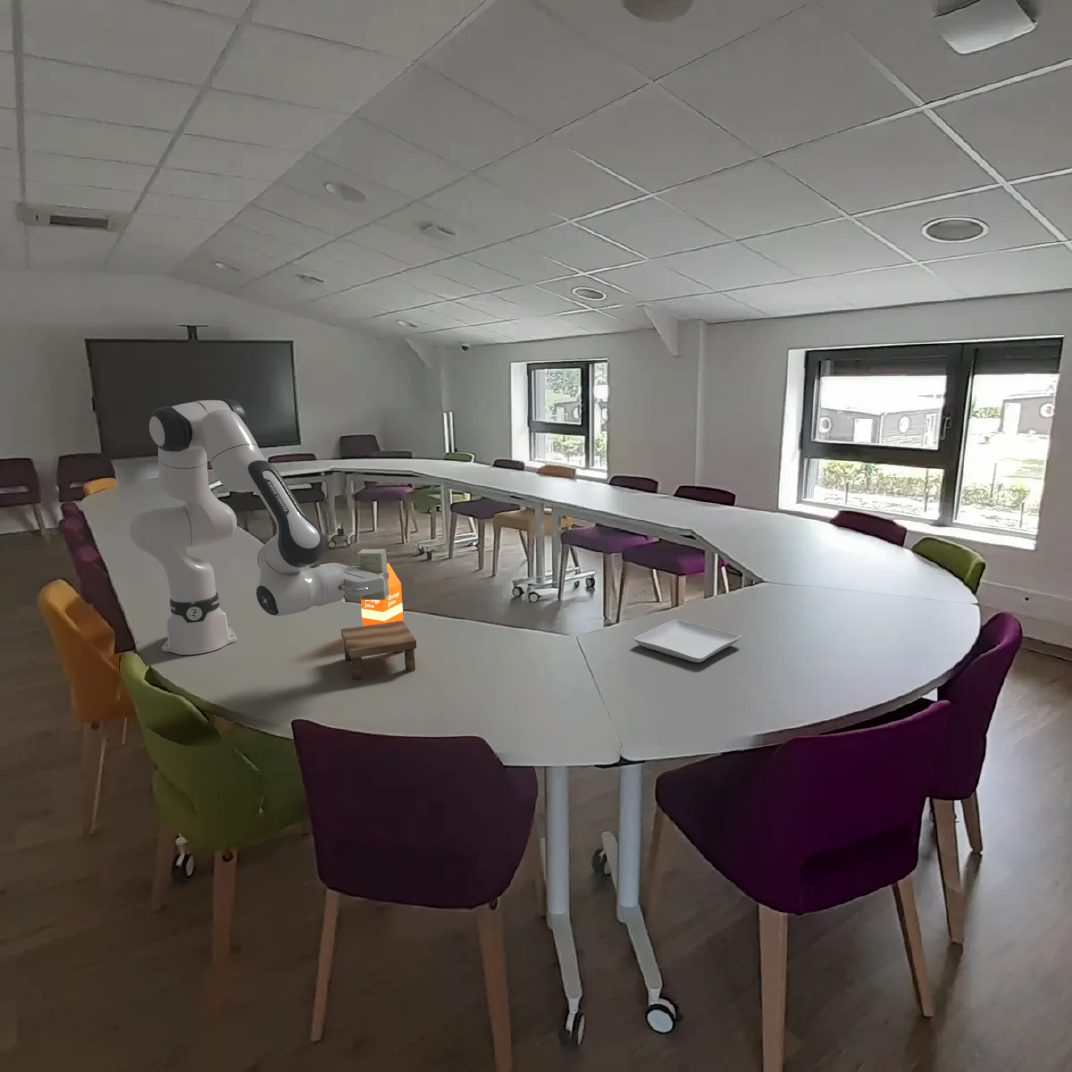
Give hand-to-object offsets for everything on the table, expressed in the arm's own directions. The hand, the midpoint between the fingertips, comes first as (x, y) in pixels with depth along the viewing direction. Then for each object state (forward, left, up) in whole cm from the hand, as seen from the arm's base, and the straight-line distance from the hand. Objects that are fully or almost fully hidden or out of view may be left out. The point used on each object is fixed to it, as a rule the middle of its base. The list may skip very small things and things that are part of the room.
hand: (376, 571), depth 175 cm
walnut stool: (0, -1, -24) cm, 24 cm away
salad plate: (+22, +77, -25) cm, 84 cm away
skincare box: (0, -1, -7) cm, 7 cm away
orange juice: (-21, +4, -25) cm, 32 cm away
